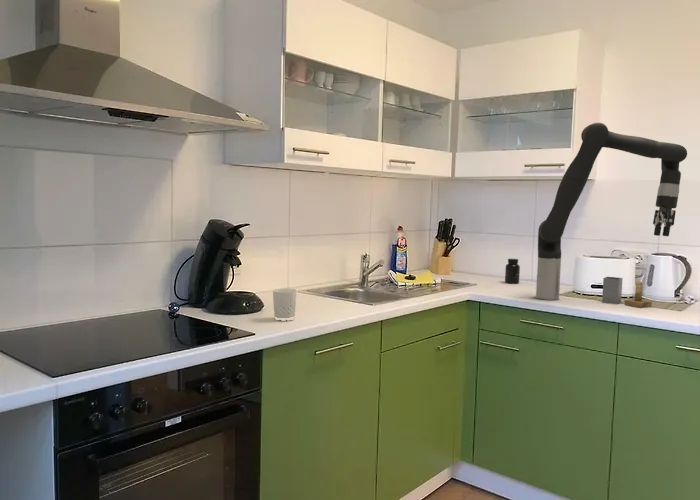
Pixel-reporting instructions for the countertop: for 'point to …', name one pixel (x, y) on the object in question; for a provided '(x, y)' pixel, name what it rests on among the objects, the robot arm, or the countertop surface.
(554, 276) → the robot arm
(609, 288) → the sleeve
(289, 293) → the white cup
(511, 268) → the supplement bottle
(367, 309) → the countertop surface
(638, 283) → the post
